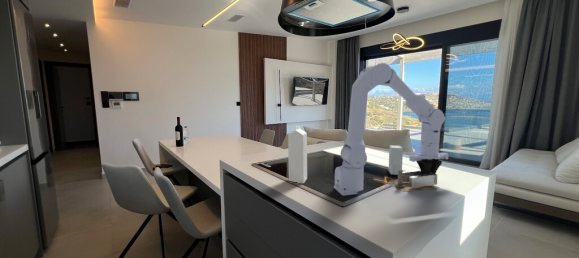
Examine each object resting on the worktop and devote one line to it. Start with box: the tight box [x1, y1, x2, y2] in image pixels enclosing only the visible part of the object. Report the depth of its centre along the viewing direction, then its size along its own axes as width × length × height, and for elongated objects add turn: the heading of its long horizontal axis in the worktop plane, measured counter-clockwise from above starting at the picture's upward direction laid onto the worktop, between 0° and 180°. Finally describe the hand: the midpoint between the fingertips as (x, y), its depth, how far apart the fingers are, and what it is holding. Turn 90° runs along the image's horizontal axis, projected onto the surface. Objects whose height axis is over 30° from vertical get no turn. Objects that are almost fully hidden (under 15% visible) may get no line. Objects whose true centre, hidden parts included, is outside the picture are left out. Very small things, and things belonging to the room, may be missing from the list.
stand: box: [387, 169, 440, 193], centre depth 88 cm, size 14×9×7 cm, turn 102°
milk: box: [287, 124, 308, 184], centre depth 97 cm, size 6×6×22 cm
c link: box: [402, 168, 438, 188], centre depth 88 cm, size 10×7×4 cm
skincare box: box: [388, 144, 404, 176], centre depth 103 cm, size 6×4×12 cm
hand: (427, 179), depth 89 cm, fingers closed on c link
